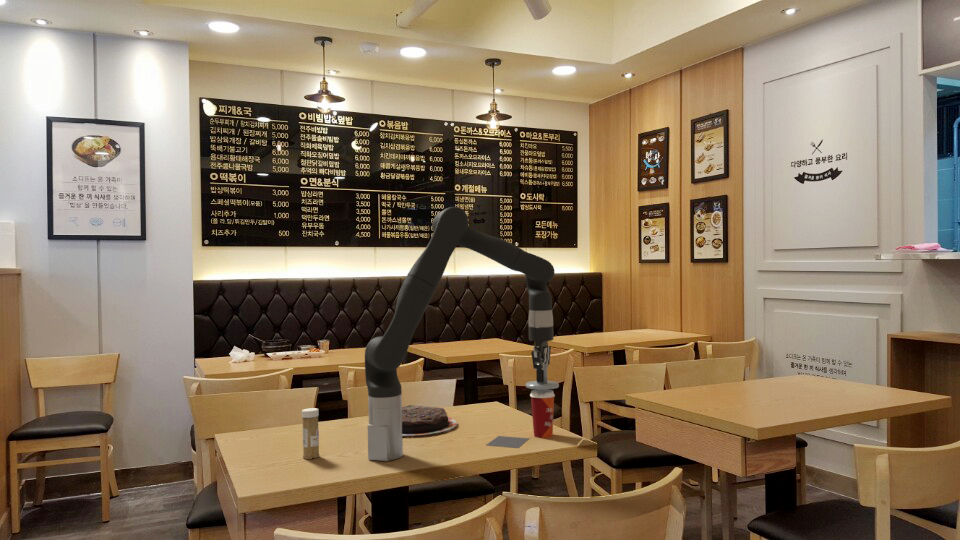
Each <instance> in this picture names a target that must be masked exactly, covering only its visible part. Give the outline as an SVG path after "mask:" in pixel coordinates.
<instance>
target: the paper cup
mask: <svg viewBox="0 0 960 540" xmlns="http://www.w3.org/2000/svg"><path fill="white" fill-rule="evenodd" d="M529 396H530V401H531V414H532V415H531V416H532V427H533V436H534V437H535V438H537V439H547V438H548V439H549V438H552V437H553V431H554V411H555V410H554V408H555V407H554V406H555V403H554V402H555V397H556V395H555V393H554V390H553V389H547V390H537V389H532V390H531V391H530V394H529Z"/></svg>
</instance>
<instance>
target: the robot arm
mask: <svg viewBox="0 0 960 540" xmlns="http://www.w3.org/2000/svg"><path fill="white" fill-rule="evenodd" d="M431 224H432V230H433V233H432V236H431V238H430V240H429V242H428V243H427V245H426V247H425V249H424V250H423V251H422V253H421V254H420V256H419V257H418V258H417V260H415V262H414V264H413V265H412V266H411V268H410V269H409V271H408V273H407V275H406V277H405V279H404V281H403V282H402V284H401V287H400V289H399V292H398V294H397V298H396V299H397V300H396V304H395V309H394V315H393V318H392V319H391V322H390V324H389V326H388V328H387V330H386V331H385V332H384V335H383V336H382V335H381V336H376V337H373V338H372V339H371V340H370V341H369V342H368V343H367V344H366V346H365V350H364V374H365V384H366V387H367V395H368V396H367V397H368V400H367V401H368V404H367V405H368V425H367V459H368V460H369V461H370V460H371V461H381V462H389V461H392V460H397V459H400V458H402V457H403V454H404V449H403V446H404V445H403V443H404V442H403V437H402V407H403V406H402V405H403V402H402V401H403V399H402V398H403V397H402V395H403V394H402V393H403V392H402V384H401V382H400V380H399V376H398V371H397V369H398V368H399V367H400V366H401V365H402V363H403V361H404V359H405V357H406V354H407V352H408V350H409V347H410V344H411V342H412V339H413V337H414V333H415V331H416V329H417V328H418V325H419V323H420V321H421V320H422V318H423V315H424V314H425V312H426V310H427V308H428V306H429V304H430V303H431V301H432V299H433V297H434V294H435V293H436V290H437V288H438V287H439V284H440V282H441V280H442V278H443V275H444V273H445V271H446V268H447V265H448V263H449V261H450V258H451V256H452V255H453V252H454V251H455V249H456V248H457V246H460V247H462V248H463V247H464V248H466V249H468V250H471V251H473V252H475V253H477V254H480V255H482V256H484V257H486V258H488V259H490V260H492V261H494V262H496V263H498V264H500V265H501V266H504V267H505V268H507V269H509V270H510V271H511V270H512V271H515V272H519V273H522V274H523V275H525V276H524V277H525V283H526V288H527V293H528V340H529V341H531V342H534V347H533V349H532V351H531V360H532V366H533V369H534V370H535V371H536V373H535V374H536V380H535V381H537V382H540V383H543V382H544V363H547V369H548V368H549V365H550V363H551V362H550V361H551V353H552V351H551V350H552V348H551V347H552V346H550V345H549V343H548V342H551V341H554V316H553V315H554V314H553V300H552V294H551V292H550V291H549V289H548V283H549V282H550V281H552V279H553V278H554V276H555V271H556V270H555V267H554V265H553V264H552V262H551V261H549V260H547V259H545V258H543V257H541V256H538V255H535V254H534V253H531V252H528V251H525V250H523V249H522V248H520V246H519V247H518V246H516V245H515V244H513V243H511V242H509V241H507V240H504V239H501V238H499V237H496V236H492V235H489V234H487V233H484V232H481V231H479V230H476V229H475V228H473V227H471V226H470V225H469V217H468V214H467V213H466V211H465V210H464V209H462V208H461V207H458V206H450V207H447V208H444V209H443V210H442V211H440V212H439V213H437V214H436V215H435V217H434V218H433V221H432V223H431ZM538 363H539V365H538Z"/></svg>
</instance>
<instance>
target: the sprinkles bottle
mask: <svg viewBox="0 0 960 540" xmlns="http://www.w3.org/2000/svg"><path fill="white" fill-rule="evenodd" d="M319 416H320V414H319V408H315V407H311V408H310V407H309V408H304V409H302V410H301V417H302V451H303V455H302V458H303V459H306V460H313V459H312V458H314V459H317V458H319V457H320V451H319V450H320V434H319V433H320V431H319Z"/></svg>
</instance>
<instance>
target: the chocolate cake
mask: <svg viewBox="0 0 960 540" xmlns="http://www.w3.org/2000/svg"><path fill="white" fill-rule="evenodd" d="M457 426H458V422H457V420H456V419H454V418H453V417H450V416H448V413H447V411H446V410H445V408H443V407H435V406H424V405H413V404H411V405H409V404H408V405H406V406H402V438H407V437H409V438H408V439H411V437H413V438H418V436H420V438H423V437H424V436H426V437H432V435H435V436H439V435H442V434H445V433H447V431H448V432H450V431H452V430H454V429H455V428H456V427H457ZM449 430H450V431H449ZM424 438H425V437H424Z"/></svg>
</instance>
